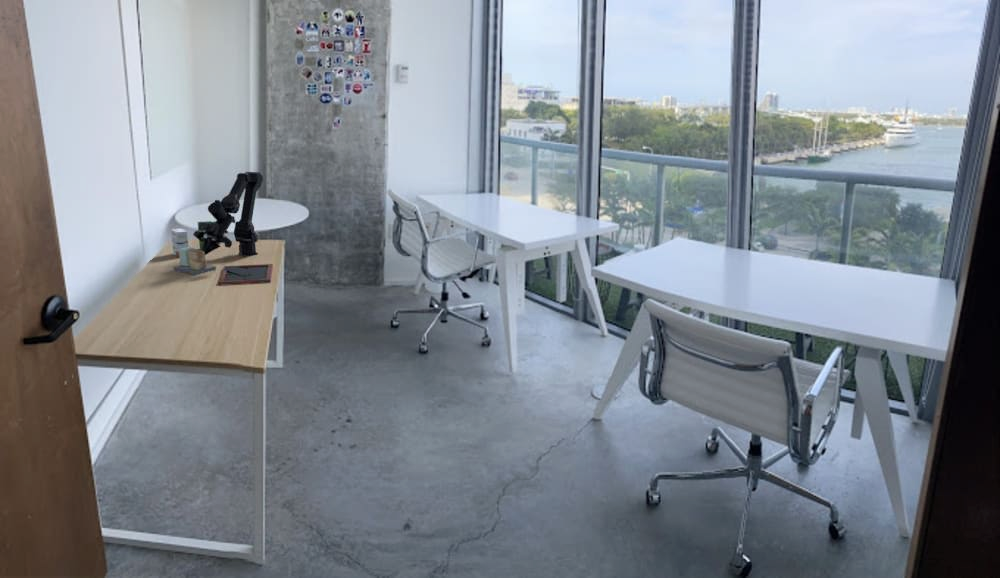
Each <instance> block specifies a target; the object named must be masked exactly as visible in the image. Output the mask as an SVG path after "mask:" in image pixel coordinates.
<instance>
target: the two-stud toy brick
mask: <svg viewBox="0 0 1000 578" xmlns="http://www.w3.org/2000/svg"><path fill="white" fill-rule="evenodd" d="M192 251H196V250H195V247H185V248H181V249H179V257H178V258H179V265H183V266H190V261H189V252H192Z"/></svg>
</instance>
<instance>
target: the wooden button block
mask: <svg viewBox="0 0 1000 578" xmlns="http://www.w3.org/2000/svg"><path fill="white" fill-rule="evenodd" d="M189 261H190V268H191V269H195V270H199V269H203V268H206V264H207V261H206V255H205V252H204V251H202V250H199V249H196V250H195V251H192V252H189Z"/></svg>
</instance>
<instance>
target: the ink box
mask: <svg viewBox="0 0 1000 578" xmlns="http://www.w3.org/2000/svg"><path fill="white" fill-rule="evenodd" d="M170 232H171V233H170V234H171V244H172V251H173V255H174V256H175V257H177V258H180V257H179V249H181V248H185V247H189V239H188V238H189V237H188V236H189V235H188V231H186V230H185V229H183V228H171V229H170Z"/></svg>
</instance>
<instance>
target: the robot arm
mask: <svg viewBox="0 0 1000 578" xmlns="http://www.w3.org/2000/svg"><path fill="white" fill-rule="evenodd" d="M263 181H264V177H263V175H262V174H261V173H260V171H245V172H239V173H237V174H236V179H235V181H234V183H233V186H232V187H231V189H230V191H229V193H228V194H227V195H226V196H224V197H223V198H222V199H221V200H218V199H215V200H214V202H212V203H210V204H209V205H208V206H207V211H208V213H210V215H211V216H212V217H213V218H214V219H215V223H213V222H210V223H204V222H205V221H199V222H200V224H199V228H198V227H197V230H195V231H194V232H193V235H192V236H194V237H195V238H196V240H197V239H198V241H199V240H200V241H201V242H203V247H202V249H201V251H204V252H205V256H206V255H208V254H209V253H211V252H213V251H215V250H216V249H218V248H221V244H224V247H225V248H228V249H230V248H231V246H232V245H233V241H232V240H231V239H230V238H228V237H227V236H226V235H225V234H227V235H228V233H229V231H228V229H229V228H230V226H231V225H232V223H233V224H234V229H233V235H234V238H235V242H236V243H239V245H238V255H240V256H243V257H249V256H254V255H258V254H259V253H258V252H257V251H256V249H257V248H256V243H257V242H259V236H258V234H257V233H256V231H255V225H254V223H253V215H254V209H255V203H256V196H257V192H258V190H260V189H261V187H262V183H263ZM243 194H244V196H243V201H242V202H243V203H242V207H241V203H240V200H241V197H242V195H243ZM240 207H241V208H242V209H241V215H240V219H239V221H236V219H235V216H233V215H231V214H237V213H238V212H239V209H240ZM198 229H201V230H204V231H205V233H207V234H208V235H207V234H205V233H204V232H203V231H198Z"/></svg>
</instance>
